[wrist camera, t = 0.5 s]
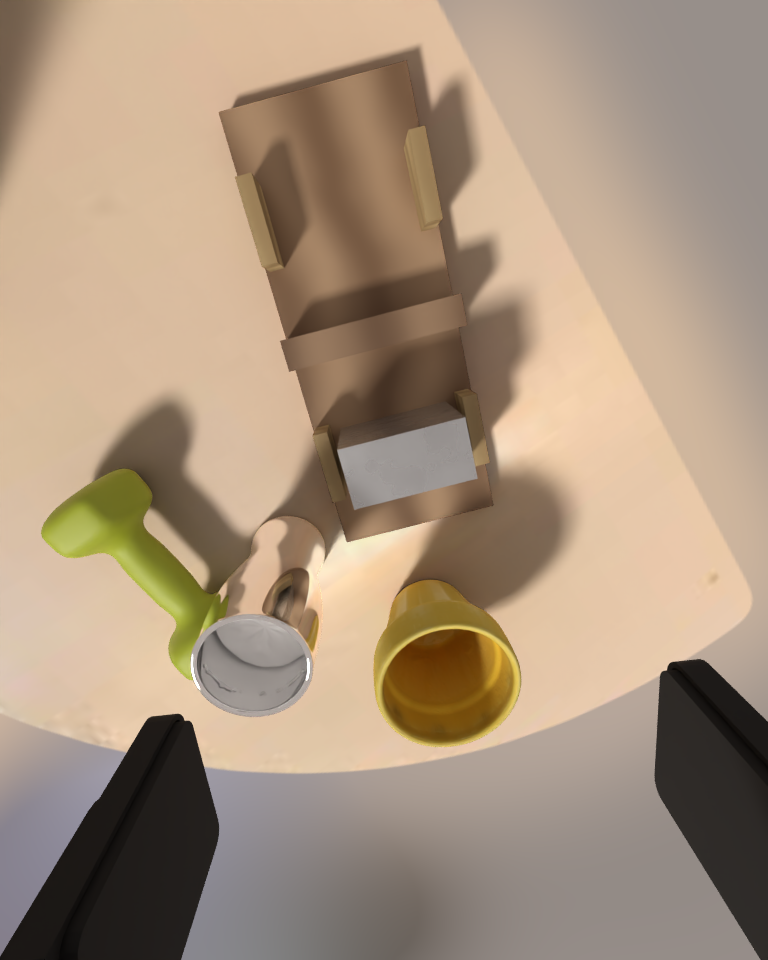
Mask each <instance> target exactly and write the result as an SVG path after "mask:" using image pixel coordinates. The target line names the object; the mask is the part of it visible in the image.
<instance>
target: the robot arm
mask: <svg viewBox="0 0 768 960" xmlns="http://www.w3.org/2000/svg"><path fill="white" fill-rule="evenodd" d="M659 688H660V689H659V705H658V725H657V743H656V759H655V784H656V787H657V791H658V793H659V796H660V798H661V799H662V801H663V803H664V804H665V806H666V808H667V809H668V811H669V812H670V814H671V816H672V817H673V819H674V821H675V822H676V824H677V825H678V827H679V829H680V830H681V832H682V833H683V835H684V837H685V838H686V840H687V841H688V843H689V845H690V846H691V848H692V849H693V851H694V853H695V854H696V856H697V858H698V859H699V861H700V862H701V864H702V866H703V867H704V869H705V871H706V872H707V874H708V875H709V877H710V879H711V880H712V882H713V883H714V885H715V887H716V888H717V890H718V892H719V893H720V895H721V896H722V898H723V899H724V901H725V903H726V904H727V906H728V908H729V909H730V911H731V913H732V914H733V915H734V917H735V919H736V921H737V922H738V924H739V926H740V927H741V929H742V930H743V932H744V933H745V935H746V937H747V938H748V940H749V942H750V943H751V945H752V946H753V948H754V950H755V951H756V953H757V955H758V956H759V958H760V959H761V960H768V722H767V721H766V720H765V719H764V718H763V717H762V716H761V715H760V714H759V713H758V712H757V711H756V710H755V709H754V708H753V707H752V706H751V705H750V704H749V703H748V702H747V701H746V700H745V699H744V698H743V697H742V696H741V695H740V694H739V693H738V692H737V691H736V690H735V689H734V688H733V687H731V685H730V684H729V683H728V682H726V680H725V679H724V678H723V677H721V675H719V674H718V673H717V672H716V671H715V670H714V669H713V668H712V667H711V666H710V665H709V664H708V663H707V662H705V661H704V660H701V659H697V660H687V661H678V662H671V663H670V664H669V665H668V668H667V671H662V673H661V675H660V687H659ZM218 836H219V823H218V818H217V814H216V810H215V807H214V803H213V799H212V795H211V792H210V788H209V784H208V781H207V777H206V773H205V769H204V765H203V762H202V758H201V754H200V751H199V747H198V743H197V739H196V736H195V732H194V728H193V725H192V723H191V722H190V721H184V718H183V716H182V715H181V714H172V715H162V716H153V717H150V718H148V719H147V721H146V722H145V723H144V725H143V727H142V728H141V730H140V732H139V733H138V735H137V737H136V738H135V740H134V742H133V743H132V745H131V747H130V748H129V750H128V752H127V753H126V755H125V757H124V759H123V760H122V762H121V764H120V765H119V767H118V768H117V770H116V772H115V773H114V775H113V777H112V778H111V780H110V782H109V783H108V785H107V787H106V789H105V790H104V792H103V794H102V795H101V797H100V798H99V799H98V800H97V801H96V802H95V803H94V804H93V805H92V807H91V808H90V809H89V811H88V813H87V814H86V816H85V817H84V819H83V821H82V822H81V824H80V826H79V828H78V829H77V831H76V832H75V834H74V836H73V838H72V839H71V841H70V842H69V844H68V846H67V847H66V849H65V850H64V852H63V854H62V856H61V857H60V859H59V861H58V862H57V864H56V865H55V867H54V869H53V871H52V872H51V874H50V875H49V877H48V879H47V880H46V882H45V884H44V885H43V887H42V889H41V890H40V892H39V893H38V895H37V897H36V898H35V900H34V902H33V903H32V905H31V907H30V908H29V910H28V912H27V913H26V915H25V917H24V918H23V920H22V921H21V923H20V925H19V927H18V928H17V930H16V931H15V933H14V935H13V936H12V938H11V940H10V941H9V943H8V945H7V946H6V948H5V950H4V951H3V953H2V955H1V956H0V960H181V958H182V955H183V952H184V948H185V945H186V942H187V938H188V935H189V932H190V929H191V926H192V923H193V919H194V916H195V913H196V910H197V907H198V903H199V900H200V897H201V894H202V891H203V887H204V884H205V881H206V878H207V875H208V871H209V868H210V865H211V862H212V859H213V855H214V852H215V849H216V846H217V842H218Z"/></svg>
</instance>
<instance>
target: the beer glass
mask: <svg viewBox="0 0 768 960" xmlns="http://www.w3.org/2000/svg"><path fill="white" fill-rule="evenodd" d="M325 553H326V549H325V543H324V540H323V537H322V535H321V533H320V532H319V531H318V529H317V528H316V527H315V526H314V525H312V524H311V523H310V522H308V521H306V520H304V519H302V518H299V517H294V516H281V517H276V518H273V519H271V520H269V521H267V522H266V523H264V524H263V525H262V526H261V527H260V528H259V529H258V530H257V532H256V533H255V535H254V537H253V540H252V544H251V555H250V556H249V557H248V558H247V559H246V560H245V561H244V562H243V563H242V564H241V565H240V566H239V567H238V568H237V569H236V570H235V571H234V572H233V573H232V575H231V576H230V577H229V578H228V579H227V580H226V582H225V583H224V584H223V586H222V587H221V589H220V590H219V592H218V594H217V595H216V597H215V598H214V600H213V602H212V604H211V606H210V608H209V611H208V613H207V615H206V617H205V620H204V622H203V625H202V628H201V630H200V633H199V636H198V639H197V641H196V643H195V645H194V647H193V650H192V653H191V659H190V669H191V674H192V677H193V680H194V683H195V685H196V686H197V688H198V690H199V691H200V692H201V694H202V695H203V696H204V697H205V698H206V699H207V700H208V701H209V702H211V703H212V704H213V705H215V706H216V707H218V708H220V709H222V710H224V711H226V712H229V713H232V714H236V715H240V716H247V717H261V716H267V715H272V714H275V713H278V712H281V711H283V710H285V709H287V708H289V707H290V706H292V705H293V704H294V703H296V702H297V701H298V700H299V699H300V698H301V697H302V696H303V694H304V693H305V692H306V690H307V688H308V686H309V684H310V682H311V679H312V674H313V667H314V664H315V660H316V656H317V652H318V648H319V644H320V638H321V632H322V621H323V606H322V596H321V590H320V585H319V581H318V576H317V574H318V572H319V571H320V569H321V567H322V565H323V563H324V559H325Z"/></svg>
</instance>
